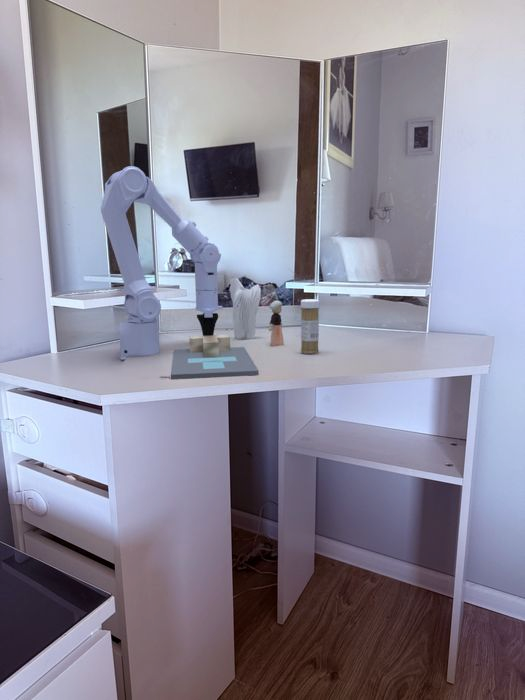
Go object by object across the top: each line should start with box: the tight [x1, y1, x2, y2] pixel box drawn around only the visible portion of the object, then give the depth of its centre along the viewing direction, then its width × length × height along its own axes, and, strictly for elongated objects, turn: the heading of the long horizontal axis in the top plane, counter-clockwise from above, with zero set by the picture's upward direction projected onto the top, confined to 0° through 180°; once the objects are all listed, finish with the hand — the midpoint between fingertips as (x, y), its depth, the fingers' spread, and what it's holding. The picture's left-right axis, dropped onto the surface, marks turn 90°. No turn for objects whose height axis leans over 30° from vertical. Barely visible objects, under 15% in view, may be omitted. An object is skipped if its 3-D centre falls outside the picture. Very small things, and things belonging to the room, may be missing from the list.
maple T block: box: [188, 334, 231, 358], centre depth 119 cm, size 10×10×4 cm
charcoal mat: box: [170, 346, 260, 380], centre depth 112 cm, size 18×26×1 cm
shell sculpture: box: [229, 277, 262, 340], centre depth 138 cm, size 8×8×18 cm
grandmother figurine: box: [268, 300, 285, 347], centre depth 128 cm, size 8×4×13 cm, turn 168°
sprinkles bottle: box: [300, 298, 320, 355], centre depth 121 cm, size 5×5×14 cm
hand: (208, 341), depth 129 cm, fingers closed
